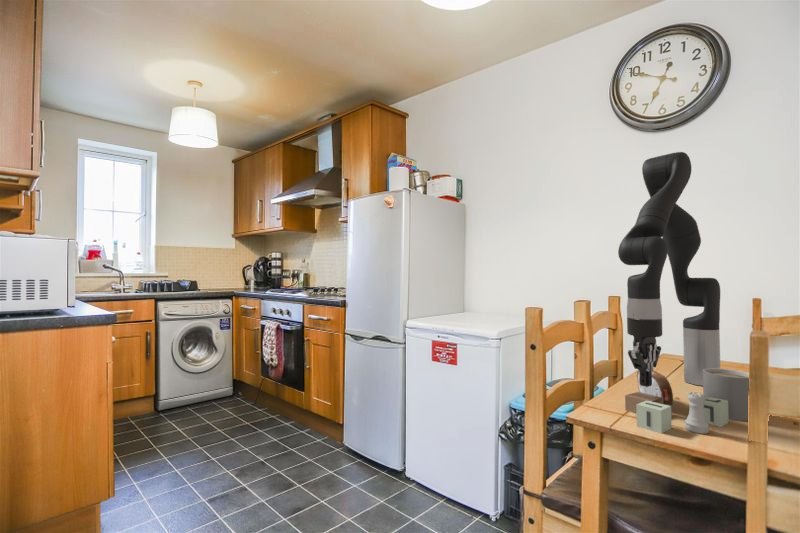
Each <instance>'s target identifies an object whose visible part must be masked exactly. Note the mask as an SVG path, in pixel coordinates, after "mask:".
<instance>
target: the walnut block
mask: <svg viewBox="0 0 800 533" xmlns="http://www.w3.org/2000/svg"><path fill="white" fill-rule="evenodd" d="M624 400H625V402H624V403H625V405H624V406H625V409H624V410H625V411H626V412H630V413H632V414H636V415H637V411H636V404H639V403H641V402H644V401H651V402H656V403H660V404H664V401H663V397H658V396H654V395H650V394H646V393H642V392H640V391H636V392H633V393H629V394H625V395H624Z"/></svg>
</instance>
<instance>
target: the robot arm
mask: <svg viewBox="0 0 800 533" xmlns="http://www.w3.org/2000/svg"><path fill="white" fill-rule="evenodd" d="M641 172H642V177H643V178H642V179H643V182H644V184H645V186H646V191H647V192H648V194H649V199H648V200H647V201H646V202H645V203H644V204H643V205H642V207H641V208H640V211H639V213H638V215H637V218H636V221H635V224H634V225H633V226H632V227H631V229H630V230H629V231H628V232H627V233H626V235H625V236H624V237H623V238H622V240H621V242H620V244H619V245H618V246H619V247H618V250H617V252H618V253H617V254H618V258H619V260H620V261H621V263H623V264H624V265H627V266H647V268H646V270H645V271H644V272H641V273H639V274H633V275H630V276H628V278H627V282H626V286H627V302H626V304H627V305H626V324H627V325H626V326H627V328H626V329H627V334H628V335H629V336H633V341H632V350H631V349H629V350H628V351H627V355H628V357H629V359H630V362H631V363H632V366H633V368H634V370H637V371H639V370H640V385H641V386H646V387H649V386H651V385H652V371H653V370H654V368H656V367H657V364H658V361H659V358H660V354H661V351H662V347H661V346H659V345H657V339H656V338H660V337H662V336H663V309H662V302H661V278H662V274H663V270H664V267H665V263H666V261H667V260H666V259H667V258H668V260H669V264H670V267H671V273H672V278H673V284H674V290H675V294H676V295H675V296H676V298H677V301H678V303H679V304H680V305H682V306H685V307H696V308H697V307H698V308H703V311H702V312H701V313H699V314H697V315H693V316H688V317H685V318H684V319H683V320H682V329H683V330H682V331H683V332H682V333H683V334H682V336H683V340H682V341H683V378H684V380H683V381H684V382H685V383H687V384H691V385H696V386H702V387H703V369H707V368H720V369H721V341H720V339H721V338H720V318H721V317H720V316H721V314H720V312H721V311H720V310H721V308H720V307H721V284H720V282H719V281H718V280H717V279H716V278H714V277H690V276H689V273H688V269H689V266H690V264H691V262H692V260H693V259H694V257H695V256H696V254H697V253H698V251H699V249H700V247H701V243H702V238H701V234H700V230H699V227H698V223H697V221H696V219H695V218H694V217H693V216H692V215H691V214H690V213H689V212H687V211H686V210H685V209H684V208H682V207H680V205H678V203H677V202H678V200H679V198H680V197H681V195H682V194H683V192H684V190H685V188H686V186H687V185H688V183H689V181H690V178H691V175H692V163H691V159H690V156H689V155H688V154H687V153H686V152H683V151H675V152H671V153H668V154H664V155H663V154H662V155H659V156H655V157H650V158H647V159H646V160H645V161H643V163H642V168H641Z"/></svg>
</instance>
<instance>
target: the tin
mask: <svg viewBox="0 0 800 533" xmlns="http://www.w3.org/2000/svg"><path fill="white" fill-rule="evenodd" d="M636 378H637V387H638V388H637V389H638V392H642V393H646V394H650V395H654V396H658V397H663V401H664V405H668V406H671V407H672V406H673V402H674V394H673V389H672V386H671V383H670V381H669V379H668V378H667V377H666V376H665V375H663V374H662V373H660V372H658V371H656V370H654V369H653V371H652V385H651V386H649V387H646V386H641V385H640V370H637V374H636Z"/></svg>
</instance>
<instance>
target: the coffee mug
mask: <svg viewBox="0 0 800 533" xmlns="http://www.w3.org/2000/svg"><path fill="white" fill-rule="evenodd" d="M749 373H750V372H747V371H742V370H737V369H730V368H729V369H728V368H721V367H720V368H707V369H703V386H702V389H703V390H702V392H703V393H702V394H703V396H707V397H712V398H717V399H722V400H727V401H728V416H729V420H730V419H731V421H738V420H739V422H741V421H740V420H744V421H743V422H749V421H748V391H749Z"/></svg>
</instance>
